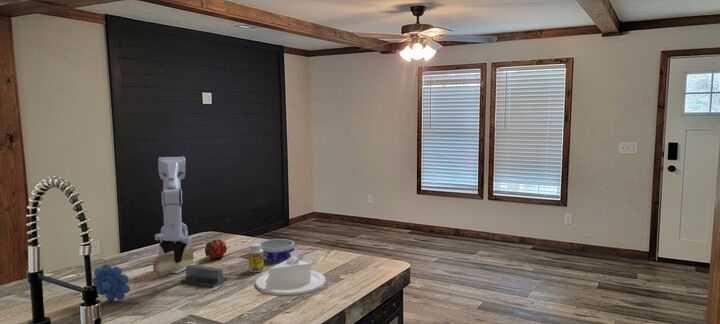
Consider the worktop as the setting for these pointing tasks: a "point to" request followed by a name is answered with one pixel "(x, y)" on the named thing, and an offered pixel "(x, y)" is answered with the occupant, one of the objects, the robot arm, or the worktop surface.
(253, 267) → the supplement bottle
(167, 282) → the worktop surface
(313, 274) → the dish
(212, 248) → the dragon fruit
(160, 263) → the maple bar
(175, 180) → the robot arm
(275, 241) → the dog bowl
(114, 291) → the grapes
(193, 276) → the balance ridge
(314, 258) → the worktop surface
